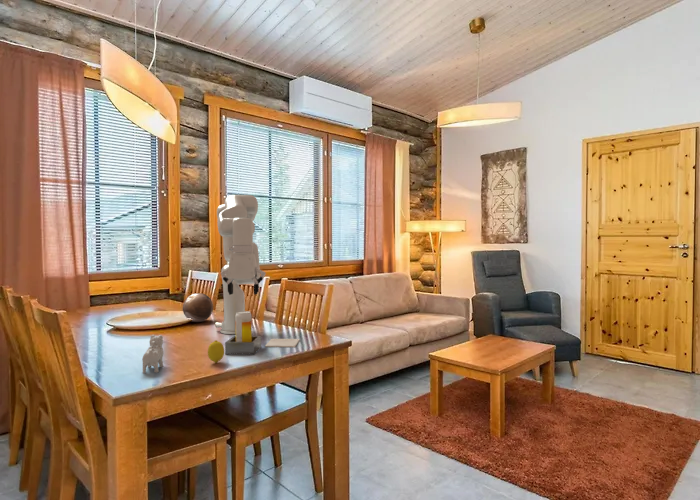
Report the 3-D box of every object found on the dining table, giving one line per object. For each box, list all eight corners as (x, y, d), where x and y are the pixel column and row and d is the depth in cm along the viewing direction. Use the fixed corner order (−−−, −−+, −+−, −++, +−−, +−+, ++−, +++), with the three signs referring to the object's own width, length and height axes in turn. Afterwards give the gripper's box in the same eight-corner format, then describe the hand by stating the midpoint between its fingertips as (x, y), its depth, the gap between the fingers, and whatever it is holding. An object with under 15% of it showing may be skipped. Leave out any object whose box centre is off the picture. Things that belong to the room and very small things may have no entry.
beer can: (254, 349, 175) (254, 311, 175) (246, 353, 169) (245, 314, 169) (241, 348, 177) (241, 310, 177) (232, 352, 171) (232, 313, 171)
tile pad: (265, 347, 179) (265, 345, 179) (271, 340, 191) (271, 338, 191) (294, 347, 178) (294, 345, 178) (299, 340, 190) (299, 338, 190)
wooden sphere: (176, 323, 227) (176, 294, 226) (195, 318, 241) (194, 291, 241) (202, 325, 223) (201, 295, 222) (219, 320, 237) (218, 291, 236)
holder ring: (225, 354, 168) (225, 342, 168) (234, 347, 179) (233, 335, 179) (254, 354, 168) (254, 342, 167) (261, 347, 179) (261, 336, 178)
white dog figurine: (166, 362, 157) (166, 332, 157) (158, 373, 145) (157, 341, 145) (150, 363, 156) (149, 333, 156) (140, 374, 144) (140, 341, 144)
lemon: (209, 361, 159) (209, 338, 159) (225, 360, 159) (225, 338, 159) (206, 365, 154) (205, 342, 153) (222, 365, 154) (222, 342, 154)
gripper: (217, 250, 169) (217, 295, 169) (262, 250, 168) (263, 295, 168) (223, 249, 176) (224, 293, 176) (267, 249, 175) (267, 293, 176)
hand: (243, 294), depth 172 cm, fingers open, 9 cm apart
